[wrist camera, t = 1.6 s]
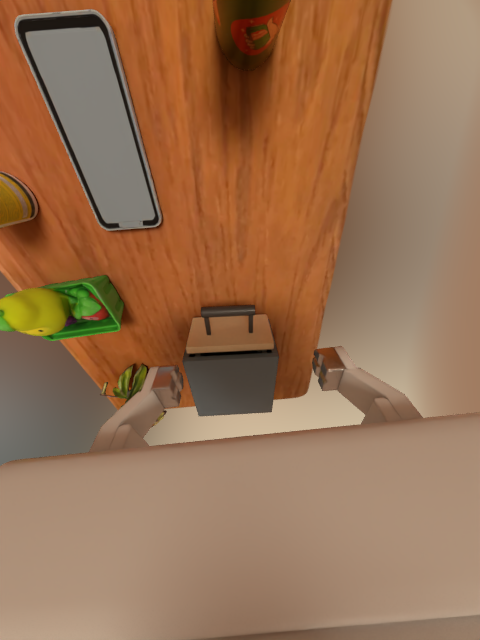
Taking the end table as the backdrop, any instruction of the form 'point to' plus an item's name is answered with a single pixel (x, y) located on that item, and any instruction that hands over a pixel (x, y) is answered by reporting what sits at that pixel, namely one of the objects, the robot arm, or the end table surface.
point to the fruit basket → (63, 309)
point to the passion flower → (136, 384)
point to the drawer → (229, 332)
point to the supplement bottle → (15, 201)
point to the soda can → (248, 29)
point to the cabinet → (232, 382)
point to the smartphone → (92, 112)
